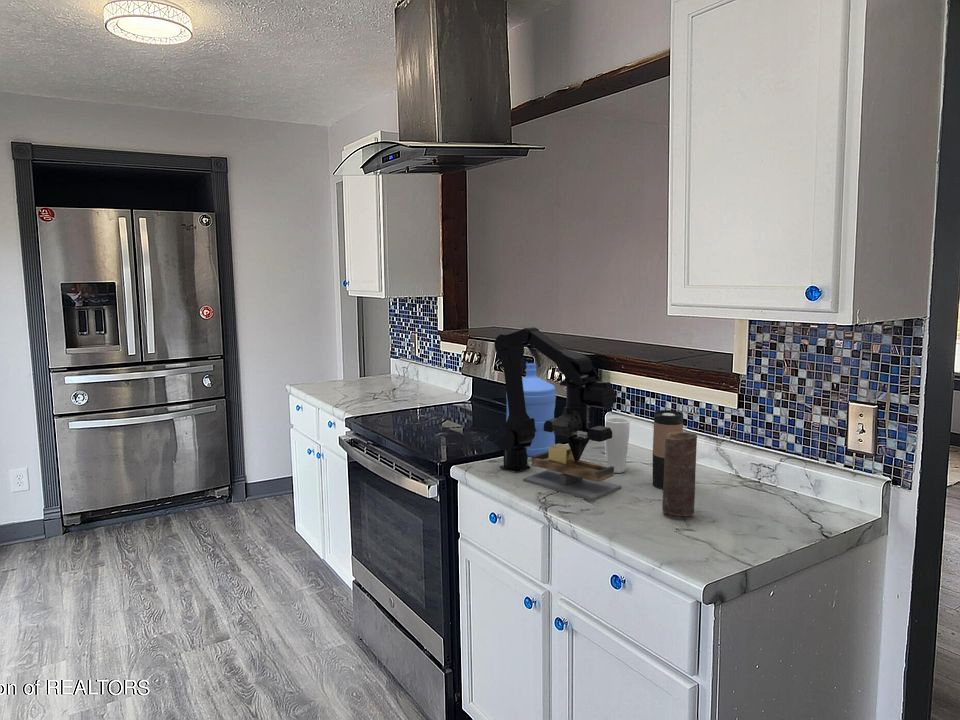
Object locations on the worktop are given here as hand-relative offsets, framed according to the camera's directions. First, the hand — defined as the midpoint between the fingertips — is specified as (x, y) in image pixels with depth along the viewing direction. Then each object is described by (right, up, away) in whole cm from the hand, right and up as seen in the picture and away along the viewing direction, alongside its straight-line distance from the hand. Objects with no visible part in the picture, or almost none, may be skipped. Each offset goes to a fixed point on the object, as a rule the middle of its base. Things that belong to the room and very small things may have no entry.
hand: (576, 460), depth 186 cm
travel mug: (+24, -7, +1) cm, 25 cm away
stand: (-1, -7, +2) cm, 7 cm away
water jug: (-10, -2, +36) cm, 38 cm away
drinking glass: (+13, -5, +14) cm, 20 cm away
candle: (+21, -10, -20) cm, 31 cm away
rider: (-4, -2, +4) cm, 5 cm away
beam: (-1, -2, +2) cm, 3 cm away
